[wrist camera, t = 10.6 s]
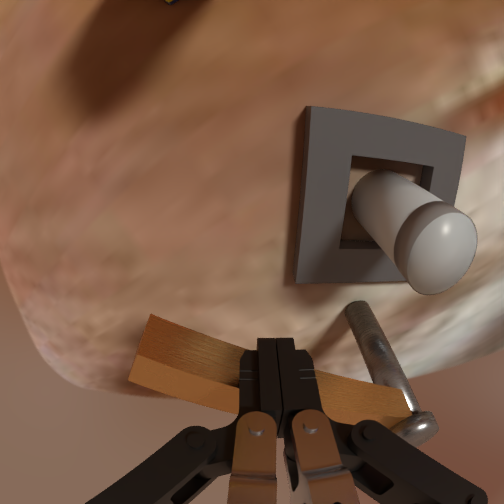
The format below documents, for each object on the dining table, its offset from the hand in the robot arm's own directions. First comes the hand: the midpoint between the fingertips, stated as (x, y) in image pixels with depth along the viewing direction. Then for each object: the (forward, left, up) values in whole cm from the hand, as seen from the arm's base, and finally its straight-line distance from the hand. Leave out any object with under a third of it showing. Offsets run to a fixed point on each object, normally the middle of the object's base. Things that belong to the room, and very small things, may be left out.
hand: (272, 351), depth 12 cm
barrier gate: (-3, +4, -11) cm, 12 cm away
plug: (-10, -3, -12) cm, 15 cm away
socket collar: (-10, -3, -12) cm, 15 cm away
